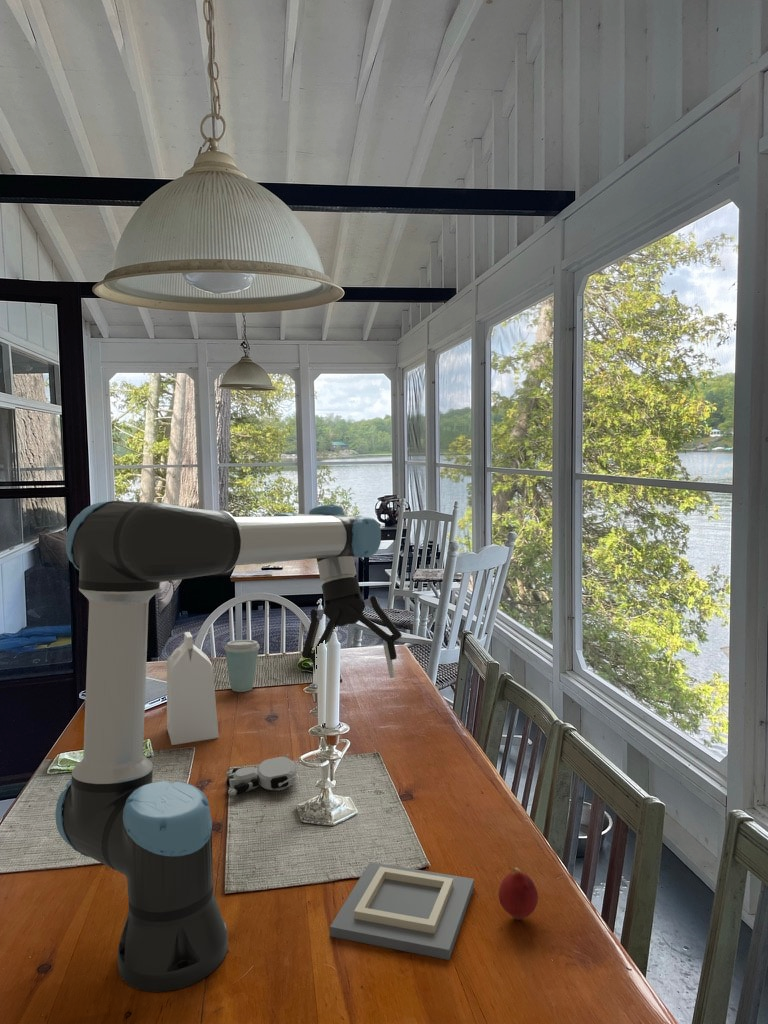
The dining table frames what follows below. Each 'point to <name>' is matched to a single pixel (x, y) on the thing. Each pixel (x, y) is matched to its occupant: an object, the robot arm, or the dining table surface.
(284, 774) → the robot toy
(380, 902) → the plate
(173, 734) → the milk
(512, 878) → the onion
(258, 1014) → the dining table surface
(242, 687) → the disposable coffee cup
